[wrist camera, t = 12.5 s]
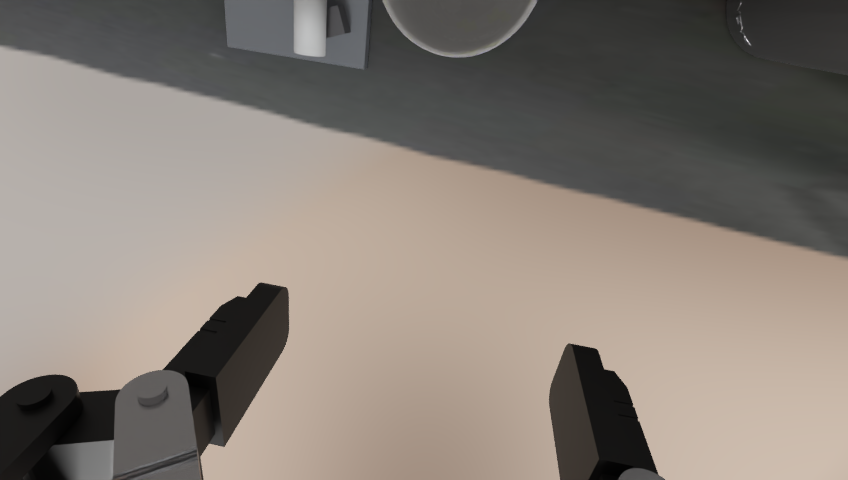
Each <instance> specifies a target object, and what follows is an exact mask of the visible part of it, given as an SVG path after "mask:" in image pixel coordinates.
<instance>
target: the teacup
mask: <svg viewBox="0 0 848 480" xmlns="http://www.w3.org/2000/svg"><path fill="white" fill-rule="evenodd" d="M536 2H537V0H383V3H384V5H385V7H386V9H387V11H388V13H389V15H390V17H391V19H392V20H393V22H394V23H395V25H396V26H397V27H398V29H399V30H400V31H401V32H402V33H403V34H404V35H405V36H406V37H407V38H408V39H409V40H411V41H412V42H414V43H415V44H416V45H418V46H419V47H421V48H423V49H425V50H427V51H430V52H432V53H435V54H438V55H442V56H446V57H454V58H458V57H470V56H474V55H479V54H482V53H484V52H487V51H490V50H492V49H493V48H495V47H497V46H499V45H500V44H502V43H503V42H505V41H506V40H507V39H508V38H510V37H511V36H512V35H513V34H514V33H515V32H516V31H517V30H518V29H519V28H520V27H521V26H522V25H523V24H524V22H525V21H526V19H527V18H528V16H529V15H530V13H531V11H532V10H533V8H534V6H535V4H536Z"/></svg>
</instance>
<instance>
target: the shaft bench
mask: <svg viewBox="0 0 848 480" xmlns="http://www.w3.org/2000/svg"><path fill="white" fill-rule="evenodd" d="M224 2H225V16H226V31H227V45H228V47H232V48H238V49H244V50H250V51H256V52H262V53H268V54H274V55H280V56H286V57H292V58H298V59H304V60H311V61H317V62H323V63H329V64H335V65H341V66H347V67H353V68H359V69H366V68H368V54H369V40H370V25H371V11H372V0H224Z"/></svg>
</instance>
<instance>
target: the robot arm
mask: <svg viewBox="0 0 848 480" xmlns="http://www.w3.org/2000/svg"><path fill="white" fill-rule="evenodd" d="M726 19H727V23H728V28H729V31H730V33H731V35H732V37H733V39H734V41H735V42H736V43H737V44H738V45H739V46H740V47H741V48H742V49H743V50H744V51H746V52H747V53H749V54H751V55H753V56H755V57H759V58H762V59H766V60H771V61H777V62H782V63H788V64H792V65H797V66H802V67H807V68H813V69H818V70H824V71H829V72H834V73H840V74H845V75H848V0H727V3H726ZM288 333H289V297H288V290H287V288H286V287H281V286H276V285H271V284H265V283H259V284H258V285H257V286H256V287H255V288H254V289H253V290H252V292H251V293H250V294H249V295H248V296H247V298H244V297H238V296H237V297H236V298H234V299H232V300H230V301H228V302H227V303H225V304H223V305H221V306H220V307H219V308H218V310H217V311H216V312H215V313H214V314H213V315H212V316H211V317H210V320H209V321H207V322H206V323H205V324H204V325H203V326H202V327H201V329H200V331H198V332H197V333H196V334H195V335H194V336H193V337H192V338H191V339H190V340H189V342H188V343H187V344H186V345H185V346H184V347H183V348H182V349H181V350H180V351H179V353H178V354H177V355H176V356H175V357H174V358H173V359H172V360H171V362H169V364H168V365H167V366H166V367H165V368H164V369H163V370H158V371H152V372H149V373H146V374H143V375H140V376H138V377H136V378H135V379H133V380H132V381H130V382H129V383H127V384H126V385H125V386H124V387H123V388H122V389H121V390H109V391H94V392H79V390H78V387H77V384H76V382H75V381H74V380H73V379H72V378H70V377H67V376H64V375H46V376H41V377H36V378H34V379H30V380H27V381H25V382H23V383H21V384H18V385H17V386H15V387H13V388H12V389H10V390H8V391H7V392H6V393H4V394H3V395H2V396H1V397H0V480H203V474H202V466H201V459H200V456H201V455H202V453H203V452H204V450H205V449H206V447H207V446H208V444H214V445H218V446H223V447H225V445H226V443H227V442H228V440H229V438H230V437H231V435H232V433H233V432H234V430H235V428H236V427H237V425H238V424H239V422H240V420H241V418H242V417H243V415H244V414H245V412H246V410H247V409H248V407H249V405H250V404H251V402H252V400H253V399H254V397H255V396H256V394H257V392H258V391H259V389H260V387H261V386H262V384H263V382H264V381H265V379H266V377H267V376H268V374H269V372H270V370H271V369H272V368H273V366H274V364H275V363H276V361H277V359H278V358H279V356H280V354H281V353H282V351H283V349H284V347H285V345H286V342H287V338H288ZM549 406H550V413H551V420H552V425H553V432H554V440H555V447H556V453H557V460H558V467H559V474H560V480H665V479H664V478H662V477H661V476H659V475H658V472H657V470H656V467H655V464H654V461H653V459H652V456H651V453H650V450H649V447H648V445H647V442H646V439H645V436H644V433H643V431H642V428H641V425H640V422H638V417H637V414H636V411H635V408H634V407H633V403H632V400H631V397H630V395H629V391H628V389H627V387H626V386H625V384H624V383H623V382H622V381H621V379H620V378H619V377H618V376H617V374H616V373H615V372H614V371H609V370H604V368H603V365H602V362H601V358H600V355H599V353H598V350H597V349H595V348H590V347H585V346H579V345H574V344H568V345H567V346H566V347H565V350H564V352H563V355H562V357H561V360H560V363H559V365H558V368H557V370H556V373H555V376H554V378H553V381H552V384H551V388H550V396H549Z"/></svg>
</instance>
